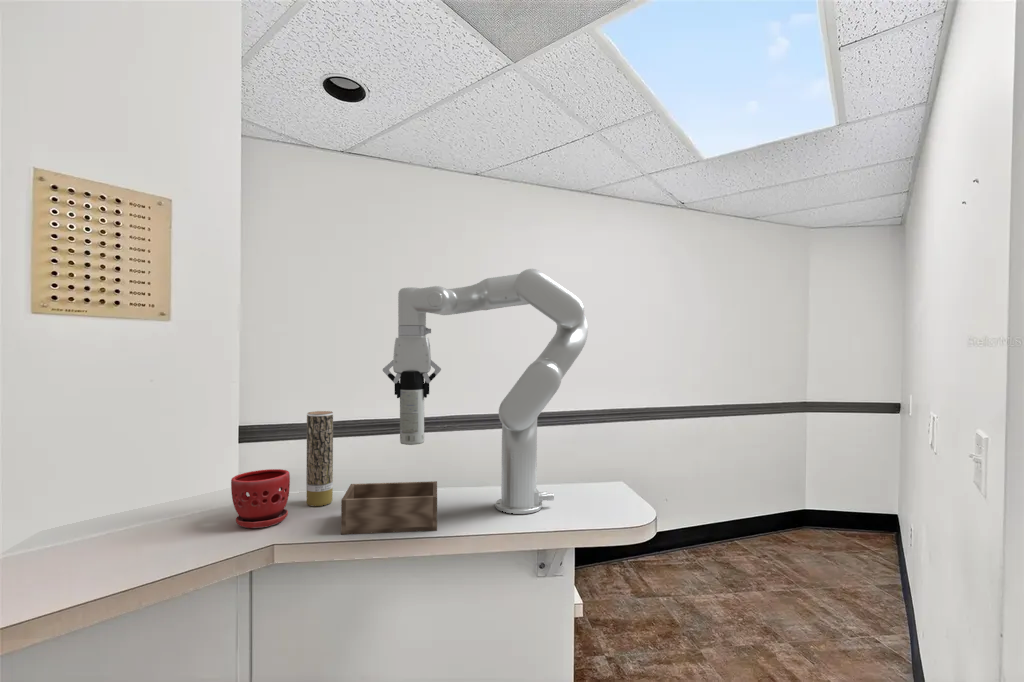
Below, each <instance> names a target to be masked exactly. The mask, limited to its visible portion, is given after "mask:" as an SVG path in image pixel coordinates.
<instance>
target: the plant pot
mask: <svg viewBox="0 0 1024 682" xmlns="http://www.w3.org/2000/svg"><path fill="white" fill-rule="evenodd" d="M290 485H291V474H290V471H288V470H286V469H279V468H278V469H277V468H274V469H273V468H271V469H270V468H269V469H260V470H258V469H257V470H253V471H252V470H251V471H248V472H244V473H243V472H242V473H239V474H236V475H235V476H233V477H232V478H231V480H230V488H231V489H230V491H231V492H230V493H231V498H232V503H233V506H234V509H235V511H236V513H237V514H238V515H237V516H236V518H235V522H236V524H237V525H238V526H240V527H241V528H245V529H260V528H267V527H271V526H276V525H277V524H281V522H283V521H284V520H285V519H286V518H287V516H288V515H289V511H288V510H287V509H286V506H287V504H288V500H289V496H290V487H291V486H290ZM247 493H248V495H247Z"/></svg>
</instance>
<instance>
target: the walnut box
mask: <svg viewBox="0 0 1024 682" xmlns="http://www.w3.org/2000/svg"><path fill="white" fill-rule="evenodd" d="M340 504H341V505H340V506H341V509H340V511H341V512H340V515H341V516H340V517H341V518H340V521H341V522H340V535H346V536H347V535H361V534H362V535H363V534H364V535H365V534H385V533H386V534H387V533H389V534H390V533H406V532H407V533H412V532H435V531H438V481H436V480H433V481H405V482H403V481H401V482H373V483H372V482H370V483H367V482H366V483H351V484H349V486H348V488H347V490H346V492H345V494H344V495H343V497H342V498H341V502H340Z"/></svg>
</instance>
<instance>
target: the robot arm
mask: <svg viewBox="0 0 1024 682" xmlns="http://www.w3.org/2000/svg"><path fill="white" fill-rule="evenodd" d="M397 300H398V302H397V303H398V304H397V307H398V308H397V309H398V311H397V313H398V315H397V316H398V317H397V318H398V321H397V324H398V325H397V326H398V327H397V329H398V332H397V337H395V341H394V346H393V357H392V358H393V359H392V360H391V361H390V362H389V363H388V364H387V365H385V366H384V367H383V368H382V372H383V373H384V374H385V375H386V376H387V377H388V378H389V379H390V380H391V382H393V384H394V395H395V396H396V398H397V399H400V376H401V373H402V372H403V371H419V372H420V373H421V374H423V377H424V399H426V398H427V397H428V395H430V383H431V382H432V381H433V380H434V379H435V378H436V376H438V374H439V373H440V372H441V371H442V368H441V367H440V366H439V365H438V364H437V363H436V362H435V361H433V360H432V355H431V345H430V338H429V337H427V335H429V334H432V329H431V328H429V327H427V313H429V314H434V315H439V316H451V315H460V314H467V313H472V312H473V313H474V312H479V311H488V310H496V309H502V308H509V307H517V306H526V305H530V306H532V307H533V308H534V309H536V310H537V311H539V313H541V314H542V315H545V316H546V317H547V318H549V319H550V320H551V321H552V322H555V324H556V331H555V334H554V335H553V337H552V338H551V340H550V341H549V342H548V343H547V345H546V347H545V348H544V349H543V351H542V352H541V353H540V355H539V356H538V357H537V358H536V359H535V360H534V361H532V363H530V365H528V366H527V368H526V369H525V371H523V373H522V374H521V376H520V377H519V378H518V379H517V381H516V382H515V384H513V387H512V388H511V389H510V390H509V391H508V393H507V394H506V396H505V397H504V398H503V400H502V401H501V402H500V404H499V407H498V418H499V421H500V423H501V425H502V426H501V427H502V428H501V430H502V431H501V484H500V485H501V496H500V497H501V498H499V499H497V500H496V501H495V508H496V509H497V511H500V512H502V511H503V512H502V513H505V512H506V513H507V514H511V513H513V514H512V515H526V514H533V513H536V512H538V511H540V510H542V508H543V503H542V502H543V501H554V500H555V494H554V492H553V493H552V492H550V493H549V492H548V491H539V490H538V489H537V470H538V468H537V464H538V463H537V458H538V457H537V456H538V455H537V453H538V452H537V450H538V418H539V415H541V413H542V412H543V411H544V409H545V408H546V406H547V405H549V402H550V401H551V400H552V398H553V397H554V396H555V395H556V393H557V392H558V390H559V389H560V386H561V383H562V379H563V378H564V377H565V375H566V374H567V372H569V370H570V368H571V367H572V366H573V364H574V363H575V361H576V360H577V358H578V357H579V355H580V354H581V352H582V351H583V349H584V348H585V345H586V342H587V339H588V333H589V330H588V329H589V325H588V320H587V317H586V314H585V307H584V304H583V302H582V301H581V299H580V298H579V297H578V296H576V295H575V294H574V293H573V292H572V291H570V290H568V289H566V288H565V287H563V286H562V285H561V284H559V283H558V282H556V281H555V280H554V279H552V278H551V277H549V276H548V275H547V274H545V273H544V272H542V271H541V270H539V269H536V268H528V269H525V270H522V271H521V272H520V273H517V274H516V273H515V274H509V275H501V276H495V277H494V276H493V277H487V278H484V279H481V281H479V282H477V283H475V284H471V285H467V286H461V287H455V288H454V287H453V288H445V287H443V286H440V285H438V286H437V285H434V286H428V287H409V286H408V287H403V288H400V289H399V290H398V294H397ZM391 368H392V370H393V372H394V373H395V375H394V374H393V372H391V371H390V369H391ZM431 368H433V369H434V371H433V372H432V373H431V374H430V375H429V374H428V373H429V372H430V371H431Z"/></svg>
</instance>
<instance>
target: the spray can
mask: <svg viewBox="0 0 1024 682" xmlns="http://www.w3.org/2000/svg"><path fill="white" fill-rule="evenodd" d="M399 383H400V398H399V434H400V435H399V443H400V444H401V445H407V446H408V445H409V446H414V445H421V444H423V443H424V442H425V397H424V383H425V379H424V377H423V374H421V373H420V372H419V371H403V372H402V373H401V376H400V379H399Z"/></svg>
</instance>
